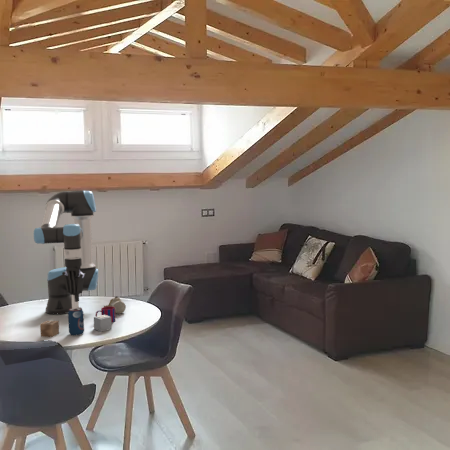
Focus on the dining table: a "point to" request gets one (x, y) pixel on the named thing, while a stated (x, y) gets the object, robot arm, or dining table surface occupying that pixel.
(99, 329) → the slate numbered block
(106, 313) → the mug
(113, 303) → the ceramic sculpture
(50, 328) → the walnut numbered block
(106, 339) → the dining table surface
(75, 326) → the soda can
